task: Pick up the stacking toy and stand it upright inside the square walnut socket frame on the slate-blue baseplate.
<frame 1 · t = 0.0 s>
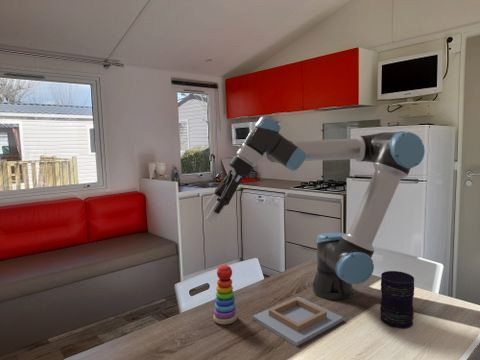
hand: (208, 216, 111), 36 cm above the table, tool tilted 35°, fingers open, 13 cm apart
baseplate: (297, 319, 115), on the table
stacking toy: (225, 319, 117), on the table
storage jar: (396, 321, 113), on the table
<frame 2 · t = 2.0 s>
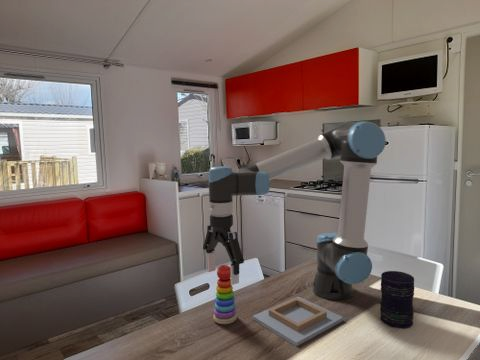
hand: (222, 277, 116), 15 cm above the table, tool pointing down, fingers open, 13 cm apart
nothing on the table moved.
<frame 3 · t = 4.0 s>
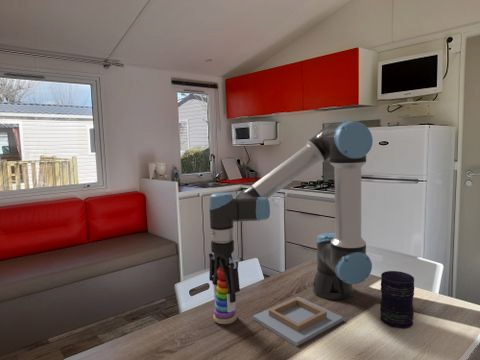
hand: (224, 306, 117), 5 cm above the table, tool pointing down, fingers closed on stacking toy, 7 cm apart
stacking toy: (225, 319, 117), on the table, touching gripper
everything else where it was.
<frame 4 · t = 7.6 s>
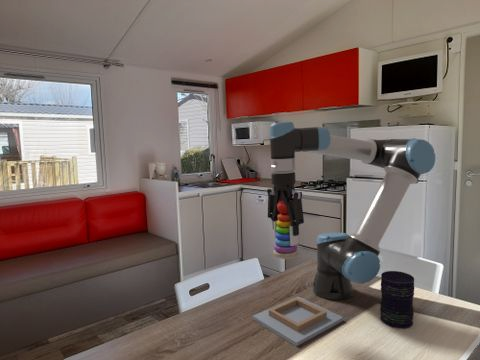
hand: (285, 242, 113), 27 cm above the table, tool pointing down, fingers closed on stacking toy, 7 cm apart
stacking toy: (286, 256, 113), point 22 cm above the table, touching gripper
everything else where it was.
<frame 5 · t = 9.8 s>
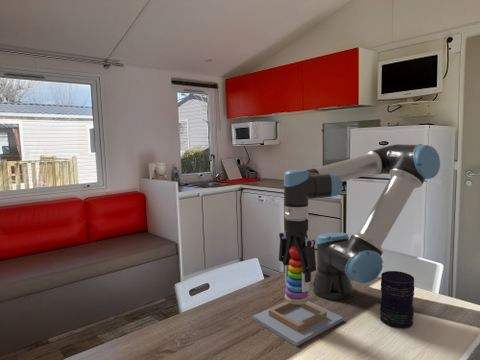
hand: (296, 286, 114), 12 cm above the table, tool pointing down, fingers closed on stacking toy, 7 cm apart
stacking toy: (296, 300, 115), point 7 cm above the table, touching gripper
everything else where it was.
when the fingers open (7 cm above the table, at t = 11.4 s): stacking toy drops 1 cm, resting on baseplate.
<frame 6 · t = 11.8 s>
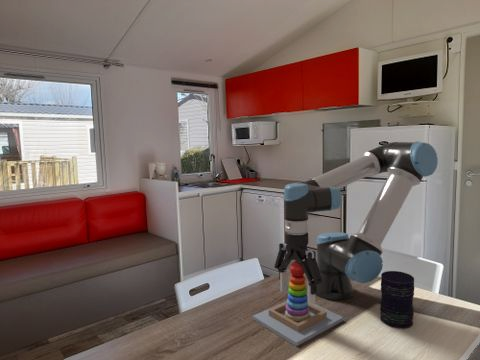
hand: (297, 296, 114), 8 cm above the table, tool pointing down, fingers open, 11 cm apart
stacking toy: (297, 317, 115), point 1 cm above the table, touching baseplate
everything else where it was.
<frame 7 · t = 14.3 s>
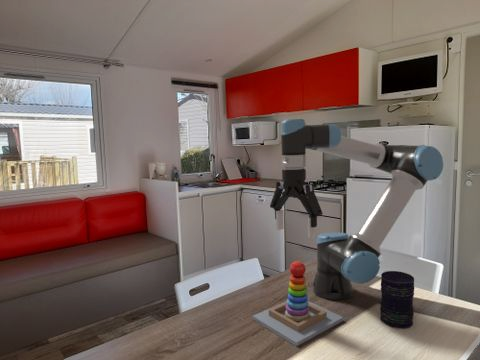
hand: (295, 233, 114), 29 cm above the table, tool pointing down, fingers open, 13 cm apart
nothing on the table moved.
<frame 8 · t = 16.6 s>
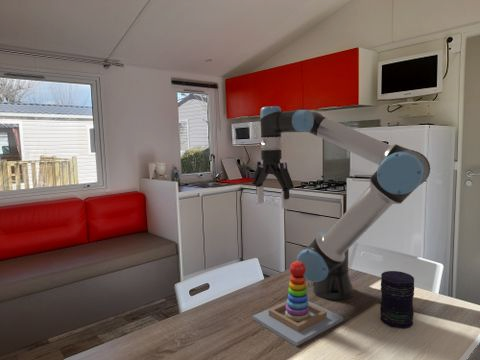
hand: (272, 205, 132), 35 cm above the table, tool pointing down, fingers open, 13 cm apart
nothing on the table moved.
at the end: stacking toy 0.0 cm off-centre on the baseplate, point 1.0 cm above the baseplate's base; stacking toy tilted 0°; the gripper is holding nothing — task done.
